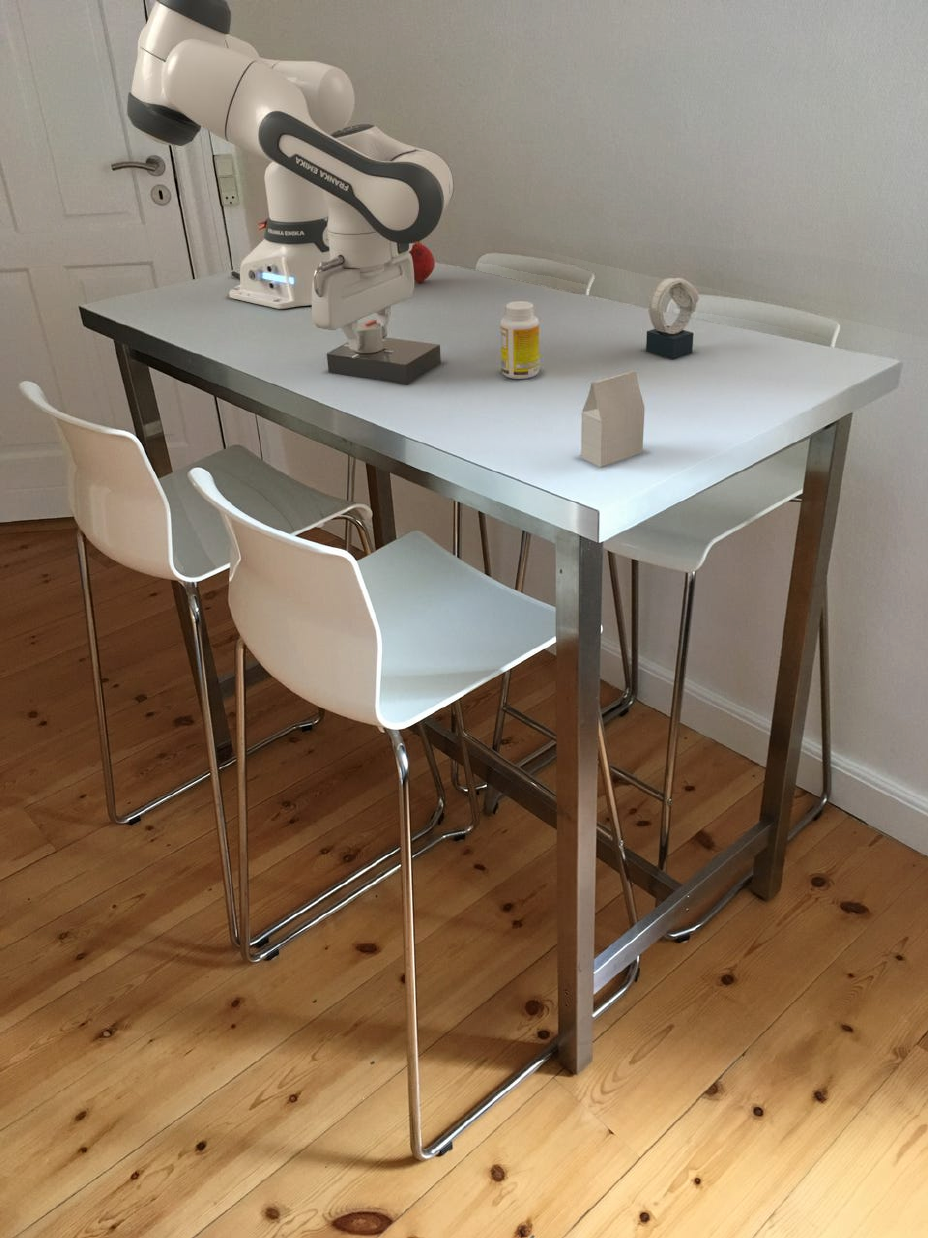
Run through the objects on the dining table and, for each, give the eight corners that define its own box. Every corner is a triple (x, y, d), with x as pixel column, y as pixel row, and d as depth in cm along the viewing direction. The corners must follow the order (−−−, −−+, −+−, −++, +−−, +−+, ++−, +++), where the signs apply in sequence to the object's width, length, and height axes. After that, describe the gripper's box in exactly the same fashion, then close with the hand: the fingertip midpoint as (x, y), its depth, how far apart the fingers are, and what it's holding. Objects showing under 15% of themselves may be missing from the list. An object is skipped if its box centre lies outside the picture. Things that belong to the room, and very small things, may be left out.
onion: (431, 287, 203) (429, 243, 199) (401, 286, 204) (398, 243, 200) (438, 279, 208) (436, 235, 204) (409, 278, 209) (406, 235, 205)
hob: (327, 372, 165) (325, 352, 163) (364, 352, 172) (362, 332, 170) (405, 385, 159) (404, 364, 157) (441, 363, 166) (440, 343, 164)
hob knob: (371, 355, 161) (369, 329, 159) (348, 350, 163) (345, 325, 161) (389, 346, 164) (387, 321, 162) (366, 342, 167) (363, 317, 165)
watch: (700, 349, 167) (706, 277, 161) (664, 362, 162) (668, 287, 157) (673, 341, 170) (677, 270, 165) (637, 353, 166) (640, 280, 160)
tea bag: (642, 453, 134) (646, 374, 129) (600, 467, 131) (602, 387, 126) (622, 444, 137) (625, 367, 132) (580, 457, 134) (582, 379, 129)
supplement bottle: (546, 371, 161) (546, 302, 156) (525, 382, 157) (524, 312, 152) (515, 365, 164) (514, 297, 159) (494, 376, 160) (492, 306, 155)
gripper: (330, 267, 147) (341, 366, 155) (418, 235, 162) (424, 327, 169) (295, 262, 151) (307, 360, 158) (385, 231, 165) (392, 322, 172)
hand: (368, 343), depth 163 cm, fingers closed on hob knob, 4 cm apart
